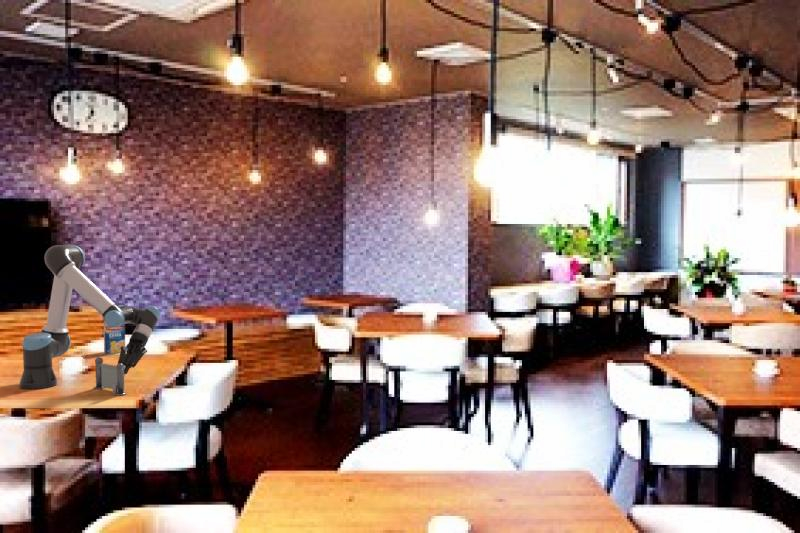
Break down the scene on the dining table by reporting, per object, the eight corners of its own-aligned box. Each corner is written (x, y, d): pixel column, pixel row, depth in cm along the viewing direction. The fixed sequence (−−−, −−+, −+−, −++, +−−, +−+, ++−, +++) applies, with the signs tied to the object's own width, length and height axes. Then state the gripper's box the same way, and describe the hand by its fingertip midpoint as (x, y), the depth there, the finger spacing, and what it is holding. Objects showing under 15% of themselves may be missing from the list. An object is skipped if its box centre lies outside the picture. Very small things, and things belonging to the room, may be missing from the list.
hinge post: (91, 388, 316) (90, 357, 316) (102, 386, 320) (101, 355, 320) (96, 390, 313) (96, 358, 313) (107, 388, 317) (107, 357, 316)
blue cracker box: (103, 352, 411) (103, 314, 410) (124, 350, 416) (123, 313, 415) (105, 353, 405) (104, 315, 404) (125, 352, 410) (124, 314, 409)
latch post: (111, 394, 305) (110, 363, 304) (122, 392, 309) (121, 361, 308) (118, 396, 301) (117, 364, 301) (129, 394, 305) (128, 362, 304)
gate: (101, 387, 315) (100, 364, 314) (104, 386, 316) (104, 363, 316) (120, 390, 307) (120, 367, 306) (124, 390, 308) (123, 366, 308)
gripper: (156, 341, 328) (135, 384, 313) (132, 340, 331) (110, 383, 316) (149, 331, 323) (127, 375, 308) (124, 330, 326) (101, 374, 311)
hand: (118, 379), depth 312 cm, fingers closed
